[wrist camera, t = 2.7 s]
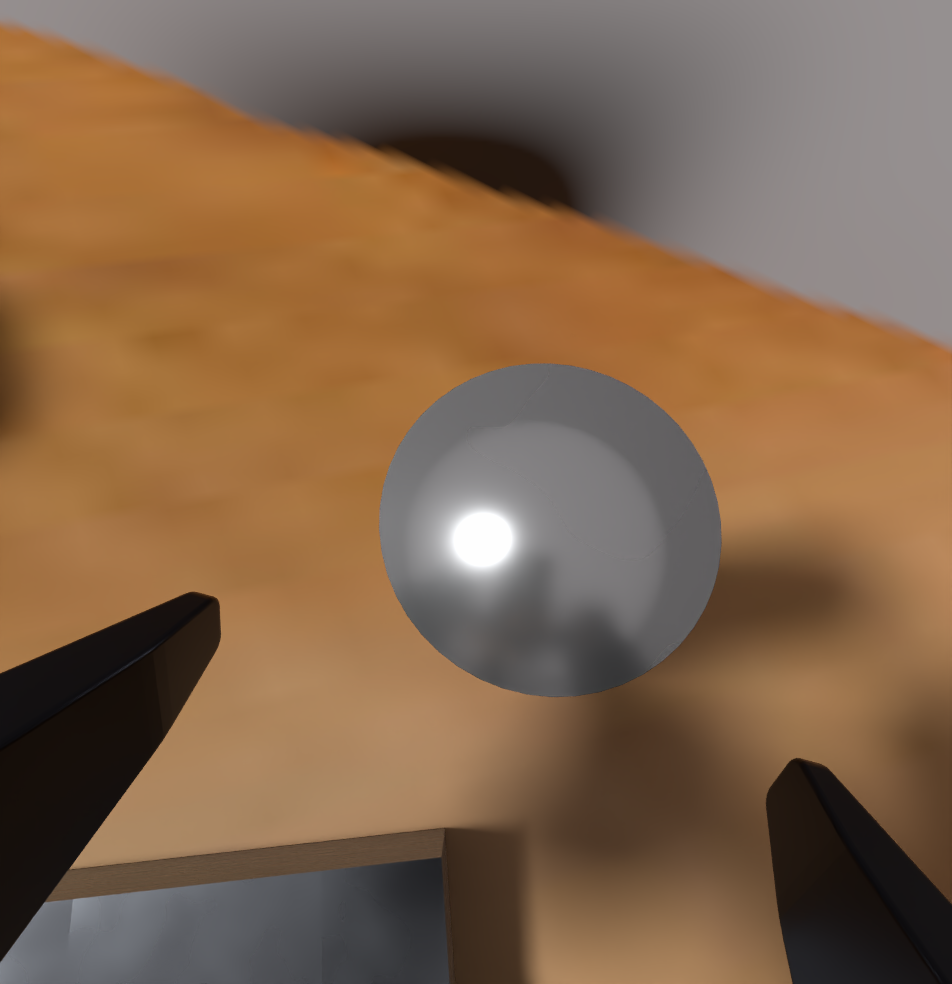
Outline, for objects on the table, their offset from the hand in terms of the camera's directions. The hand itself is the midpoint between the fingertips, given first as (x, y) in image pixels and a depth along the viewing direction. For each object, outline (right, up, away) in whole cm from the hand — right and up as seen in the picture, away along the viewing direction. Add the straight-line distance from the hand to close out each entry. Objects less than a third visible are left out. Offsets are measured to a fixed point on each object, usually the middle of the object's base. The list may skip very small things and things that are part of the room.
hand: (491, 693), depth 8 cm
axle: (0, -1, +10) cm, 10 cm away
